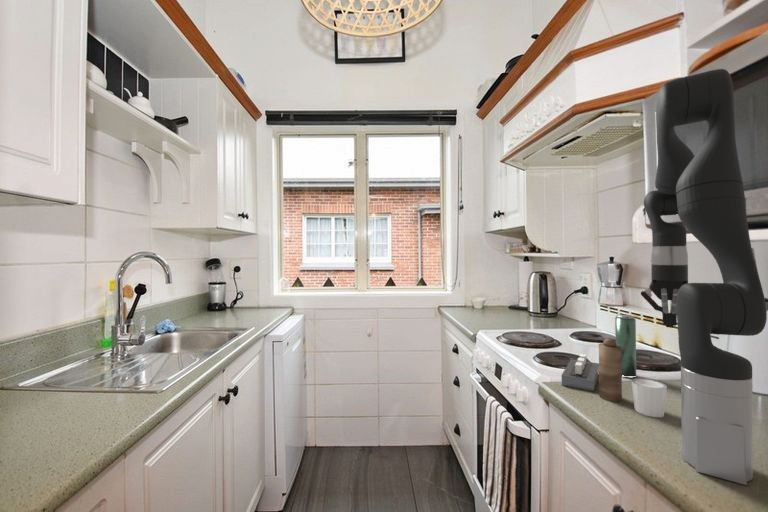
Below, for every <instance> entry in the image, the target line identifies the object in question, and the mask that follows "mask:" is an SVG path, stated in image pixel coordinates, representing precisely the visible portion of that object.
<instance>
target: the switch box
mask: <svg viewBox="0 0 768 512" xmlns="http://www.w3.org/2000/svg"><path fill="white" fill-rule="evenodd" d="M577 360H578V359H572V358H570V359H569V361H568V362H567V365H566V366H565V368H564V370H563V372H562V374H561V386H562V387H563V386H564V387H567V388H568V387H569V388H573V389H579V390H585V391H589V392H594V391H595V388H596V385H597V381H598V378H599V375H598V373H599V362H592V361H587V363H586V365H585V367H584V370H583V372H582V374H576V373H575V364H576V362H577ZM597 377H598V378H597Z"/></svg>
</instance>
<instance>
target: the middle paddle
mask: <svg viewBox="0 0 768 512" xmlns="http://www.w3.org/2000/svg"><path fill="white" fill-rule="evenodd" d="M576 360H577V362H580V363H583V370H584V367H585V358H580V357H578V358H577V359H576Z"/></svg>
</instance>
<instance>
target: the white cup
mask: <svg viewBox="0 0 768 512" xmlns="http://www.w3.org/2000/svg"><path fill="white" fill-rule="evenodd" d="M630 382H631V388H632V389H631V390H632V399H633V405H634V406H633V407H634V410H635V411H636V412H637V413H639V414H641V415H644V416H647V417H652V418H663V417H664V416H665V409H666V402H667V401H666V399H667V391H668V386H667V385H666V384H665V383H662V382H660V381H657V380H653V379H648V378H631V381H630Z"/></svg>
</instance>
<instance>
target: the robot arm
mask: <svg viewBox="0 0 768 512" xmlns="http://www.w3.org/2000/svg"><path fill="white" fill-rule="evenodd" d="M734 97H735V96H734V83H733V80H732V76H731V74H730V73H729V71H728V70H727V69H725V68H718V69H712V70H708V71H705V72H700V73H696V74H693V75H688V76H684V77H679V78H677V79H673V80H670V81H667V82H665V83H663V85H661V87H660V89H659V91H658V94H657V99H656V108H655V109H656V110H655V114H656V115H655V116H656V118H655V119H656V120H655V121H656V123H655V125H656V149H657V150H656V151H657V166H656V173H655V180H654V181H655V182H654V186H655V190H652V191H649V192H648V193H647V194H645V196H644V198H643V207H644V210H645V214H646V215H647V217H648V220H649V222H650V226H651V227H650V228H651V237H652V238H651V239H652V242H651V244H652V248H651V256H650V258H651V259H650V263H651V269H650V270H651V273H650V274H651V282H650V284H649V286H648V288H646V289H645V290H642V291H640V295H641V296H642V298H644V300H645V301H646V302H647V303H648V304H649V305H650V306H651V307H652V308H653V309H654V310H655V311H657V312H660V313H661V314H662V325H664V326H665V327H666V328H672V329H674V327H676V326H677V333H678V334H677V335H678V337H677V338H678V349H679V354H680V389H681V390H680V396H681V397H680V398H681V399H680V401H681V402H680V403H681V404H680V407H681V408H680V410H681V412H680V413H681V414H680V415H681V416H680V417H681V430H680V431H681V456H682V458H683V460H684V461H685V462H686V463H688V464H689V465H690V466H692V467H694V469H695V471H696V472H698V473H701V474H705V475H708V476H712V477H716V478H719V479H723V480H727V481H730V482H733V483H737V484H741V485H745V486H747V485H748V484H747V483H748V482H749V481H752V480H753V479H754V435H753V434H754V428H753V425H754V422H753V420H754V418H753V413H754V412H753V405H754V404H753V403H754V401H753V392H754V391H753V390H754V389H753V365H752V363H751V361H750V360H749V359H747V358H746V357H744V356H741V355H739V354H737V353H733V352H730V351H726V350H724V349H721V348H719V347H717V346H715V345H714V344H713V342H712V337H711V335H722V336H724V335H726V336H747V337H748V336H751V337H753V336H756V335H757V336H758V335H759V334H760V333H762V332H763V330H764V329H765V326H766V323H767V318H768V316H767V315H768V314H767V304H766V298H765V294H764V291H763V290H764V289H763V286H762V283H761V279H760V275H759V272H758V267H757V264H756V260H755V256H754V253H753V248H752V243H751V236H750V230H749V224H748V223H749V222H748V217H747V216H748V215H747V205H746V204H747V203H746V202H747V201H746V196H745V190H744V182H743V177H742V174H741V173H742V172H741V168H740V167H741V166H740V160H739V154H738V147H737V141H736V125H735V124H736V122H735V98H734ZM705 121H707V123H708V129H707V130H708V131H707V134H706V137H705V138H704V140H703V143H702V144H701V146H700V147H699V149H698V151H697V152H696V154H694V152H693V151H692V150H691V148H689V147H688V146H687V145H686V144H685V143H684V142H683V141H682V140H681V138H680V137H679V136H678V135H677V132H676V130H675V127H679V126H683V125H690V124H694V123H699V122H705ZM676 214H678V217H679V219H680V221H681V223H682V224H680V223H671V222H667V221H664V219H662V217H664V216H677V215H676ZM687 230H688V232H690V233H691V235H692V236H694V237H695V239H697V241H699V242H700V243H701V244H702V245H703V246H704V247H705V248H706V249H707V250H708V252H709V253H710V254H711V256H712V257H713V259H714V260H715V262H716V264H717V266H718V268H719V271H720V274H721V277H722V282H723V283H722V282H719V283H718V282H689V255H688V254H689V253H688V248H687V247H688V246H687ZM652 293H653V294H654V295H655V297H657V299H658V300H660V302H661V305H659V304H658V303H657V302H656V301H655V299H653V298H652V296H653V294H652ZM669 301H670V307H669ZM669 308H670V309H669ZM669 310H670V311H669Z"/></svg>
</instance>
